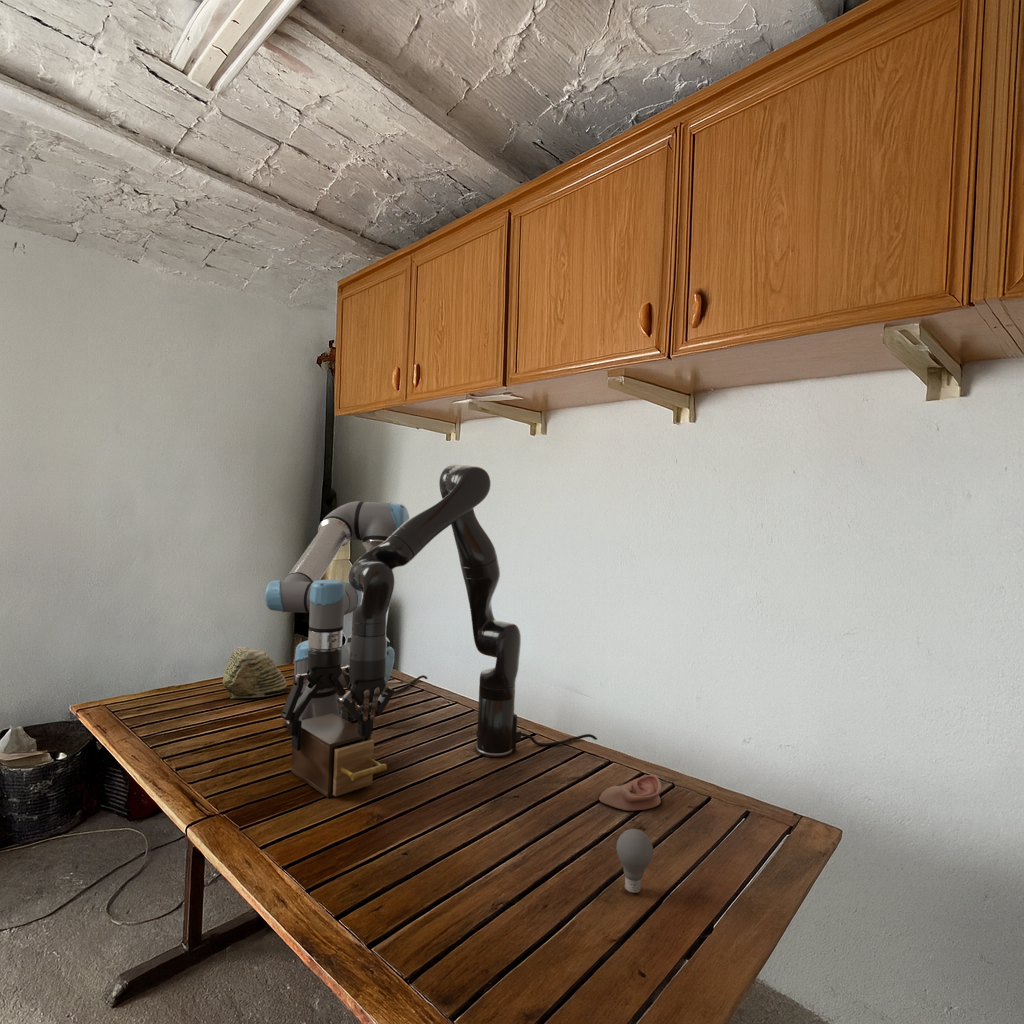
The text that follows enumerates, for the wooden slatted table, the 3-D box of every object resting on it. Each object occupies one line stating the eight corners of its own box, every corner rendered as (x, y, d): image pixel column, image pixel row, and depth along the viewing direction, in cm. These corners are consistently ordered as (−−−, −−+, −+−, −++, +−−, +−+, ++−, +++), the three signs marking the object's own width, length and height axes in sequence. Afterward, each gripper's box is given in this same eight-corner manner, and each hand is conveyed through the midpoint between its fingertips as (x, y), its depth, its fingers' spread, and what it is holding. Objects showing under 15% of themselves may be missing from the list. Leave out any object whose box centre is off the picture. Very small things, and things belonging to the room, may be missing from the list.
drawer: (387, 794, 134) (389, 749, 134) (350, 807, 128) (352, 760, 128) (335, 761, 150) (337, 721, 149) (300, 771, 143) (302, 729, 143)
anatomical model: (598, 788, 134) (602, 766, 145) (597, 806, 134) (601, 783, 146) (662, 796, 132) (661, 774, 143) (662, 815, 132) (660, 791, 143)
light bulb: (610, 879, 108) (613, 822, 108) (644, 879, 109) (647, 822, 109) (619, 902, 102) (622, 840, 102) (655, 901, 103) (658, 840, 103)
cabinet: (369, 784, 141) (371, 733, 140) (327, 798, 133) (329, 744, 133) (330, 760, 152) (332, 713, 152) (291, 771, 145) (292, 722, 145)
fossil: (218, 695, 195) (220, 647, 195) (278, 685, 208) (279, 640, 207) (228, 703, 189) (230, 653, 188) (289, 692, 201) (290, 645, 201)
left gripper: (282, 659, 134) (278, 760, 134) (379, 644, 151) (375, 734, 151) (266, 652, 139) (263, 749, 140) (361, 638, 156) (358, 725, 157)
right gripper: (349, 663, 125) (346, 750, 126) (404, 654, 135) (401, 734, 135) (330, 655, 131) (327, 739, 131) (384, 647, 140) (381, 724, 140)
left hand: (321, 742), depth 145 cm, fingers open, 12 cm apart
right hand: (365, 736), depth 133 cm, fingers closed
